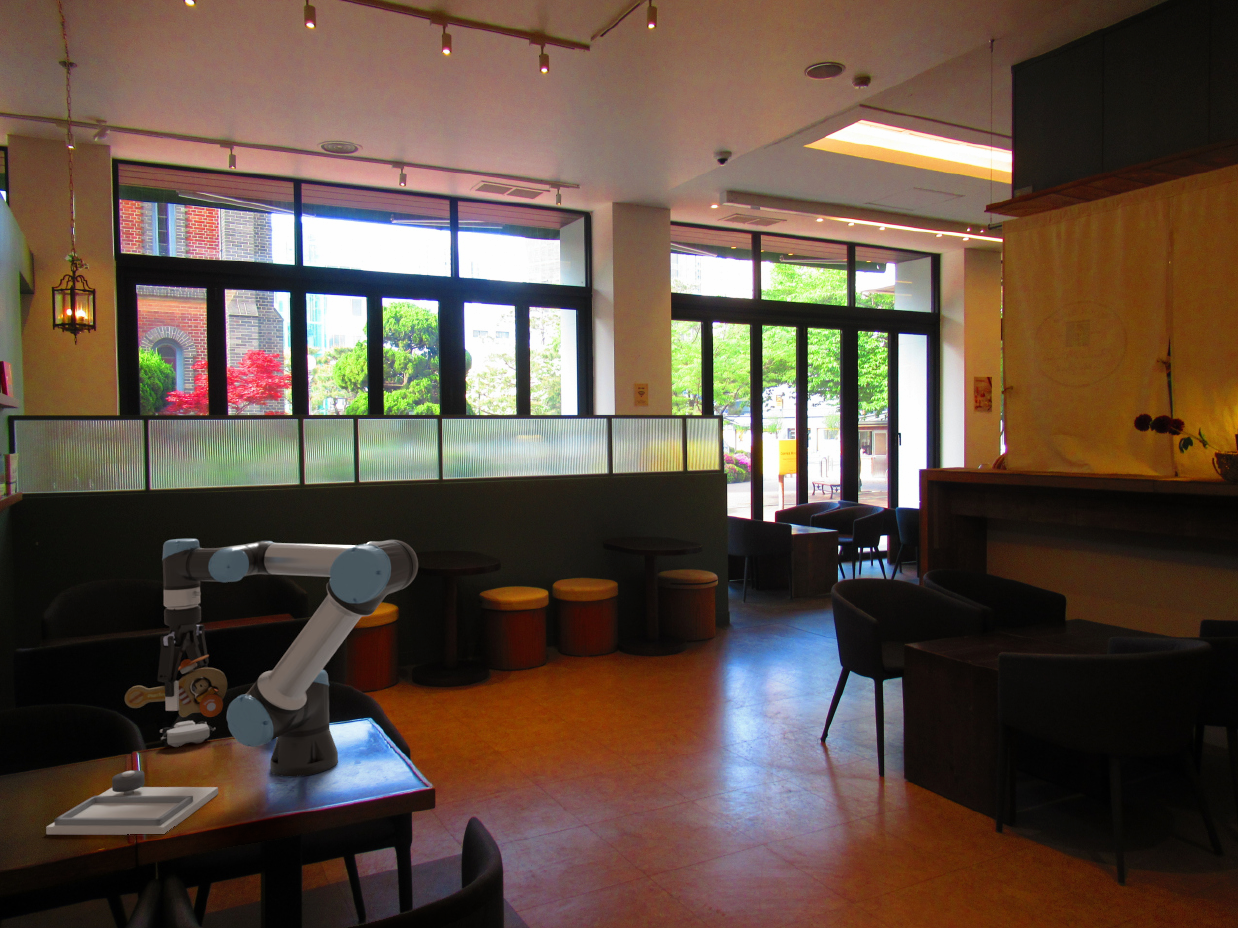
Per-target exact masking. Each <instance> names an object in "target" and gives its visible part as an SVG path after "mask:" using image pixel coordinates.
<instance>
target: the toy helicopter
mask: <svg viewBox="0 0 1238 928" xmlns="http://www.w3.org/2000/svg"><path fill="white" fill-rule="evenodd" d="M209 656H210V654H208V655H205V656H203V657H200V658H197V659H195V660H193V661H191V660H189V658H187V659H183V660H182V661H180V666H179V669H178V671H180V673H181V674H182V675H183V674H185V675H183V676H182V677H181V678H180V679H179V680H178V681H179V710H178V715H179V717H182V718H187V717H189V715H191V714H194V713H199V714H200V713H201V714H202V715H203V716H204V717H207V718H212V717H216V716H218V714H220V713H221V712H222V710H223V707H224V701H223V700H224V698H225V696H226V694H227V689H228V681H227V677H226V675H225V673H224V672H223V671H221V670H220V669H217V668H214V667H207V668H200V669H196V670H194V669H193V668H195V667H196V666H197V664H196V662H197V661H200V660H203V659H205V658H207V657H208V658H209ZM193 670H194V671H193ZM199 677H203V678H199ZM193 681H194V682H193ZM192 682H193V683H192ZM209 682H210V683H209ZM191 683H192V688H190V686H191ZM210 685H211V686H210ZM214 687H215V688H214ZM191 689H192V691H193V692H194V693H196V694H198V695H197V696H196V697H195V694H193V693H192V691H191ZM124 702H125V705H127V706H128V707H129V708H132V709H138V708H142V707H144V706H145V705H146V704H148V703H154V702H155V703H157V702H165V685H161V686H156V687H151V688H148V687H147V686H143V685H134V686H132V687H131V688H129V689H128V690H127V691H126V692H125V695H124Z"/></svg>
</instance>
